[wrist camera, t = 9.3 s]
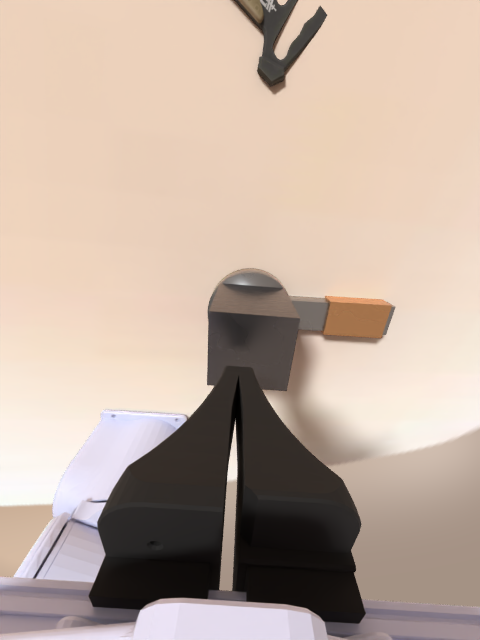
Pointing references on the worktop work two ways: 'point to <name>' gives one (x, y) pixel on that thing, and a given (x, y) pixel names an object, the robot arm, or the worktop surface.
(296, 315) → the dark grey block
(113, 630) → the robot arm
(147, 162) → the worktop surface
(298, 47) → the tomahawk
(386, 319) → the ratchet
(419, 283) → the worktop surface
